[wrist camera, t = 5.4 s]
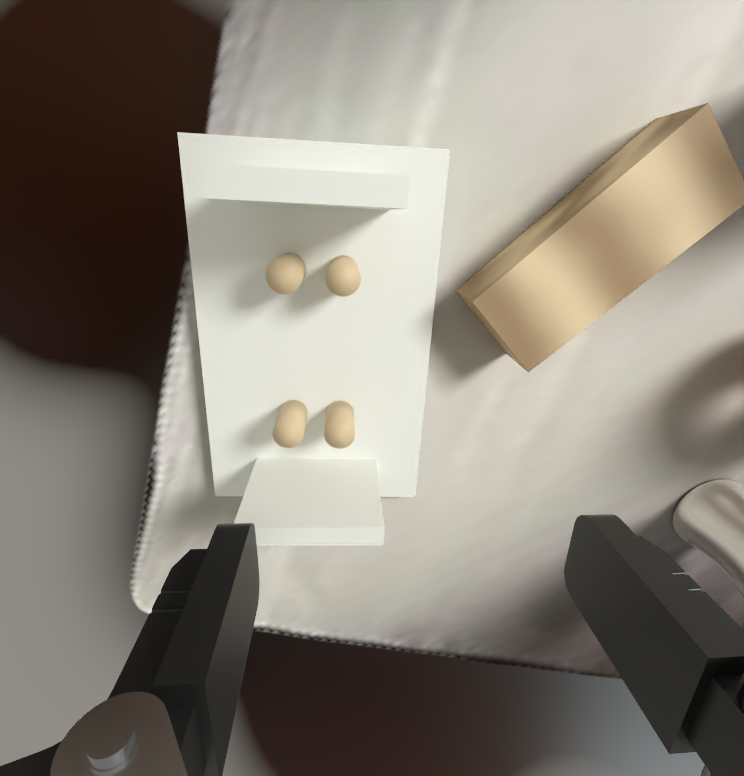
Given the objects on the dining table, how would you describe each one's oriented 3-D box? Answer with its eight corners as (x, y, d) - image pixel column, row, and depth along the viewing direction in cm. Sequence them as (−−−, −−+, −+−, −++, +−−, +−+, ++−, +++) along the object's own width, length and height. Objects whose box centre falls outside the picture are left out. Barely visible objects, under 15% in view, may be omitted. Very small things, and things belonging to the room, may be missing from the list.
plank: (652, 119, 24) (708, 103, 21) (693, 200, 26) (752, 198, 22) (454, 289, 27) (472, 301, 23) (504, 351, 29) (528, 372, 25)
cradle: (184, 135, 23) (107, 98, 15) (445, 152, 24) (492, 124, 16) (218, 487, 31) (180, 574, 24) (413, 488, 32) (434, 571, 25)
